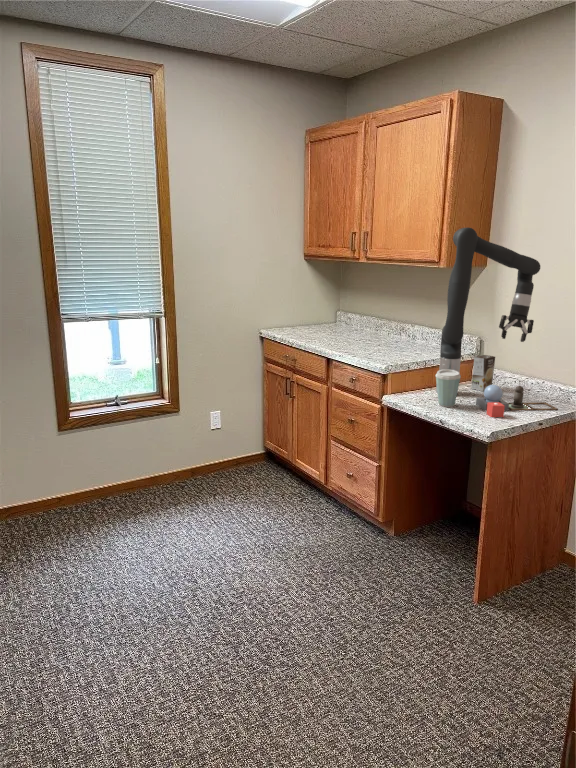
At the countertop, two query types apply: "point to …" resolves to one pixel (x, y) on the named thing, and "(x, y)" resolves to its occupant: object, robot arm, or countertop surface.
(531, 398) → the countertop surface
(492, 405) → the die
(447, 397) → the disposable coffee cup
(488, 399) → the pale blue sphere
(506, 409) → the housing
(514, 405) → the pawn
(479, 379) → the coffee box
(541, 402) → the window frame
